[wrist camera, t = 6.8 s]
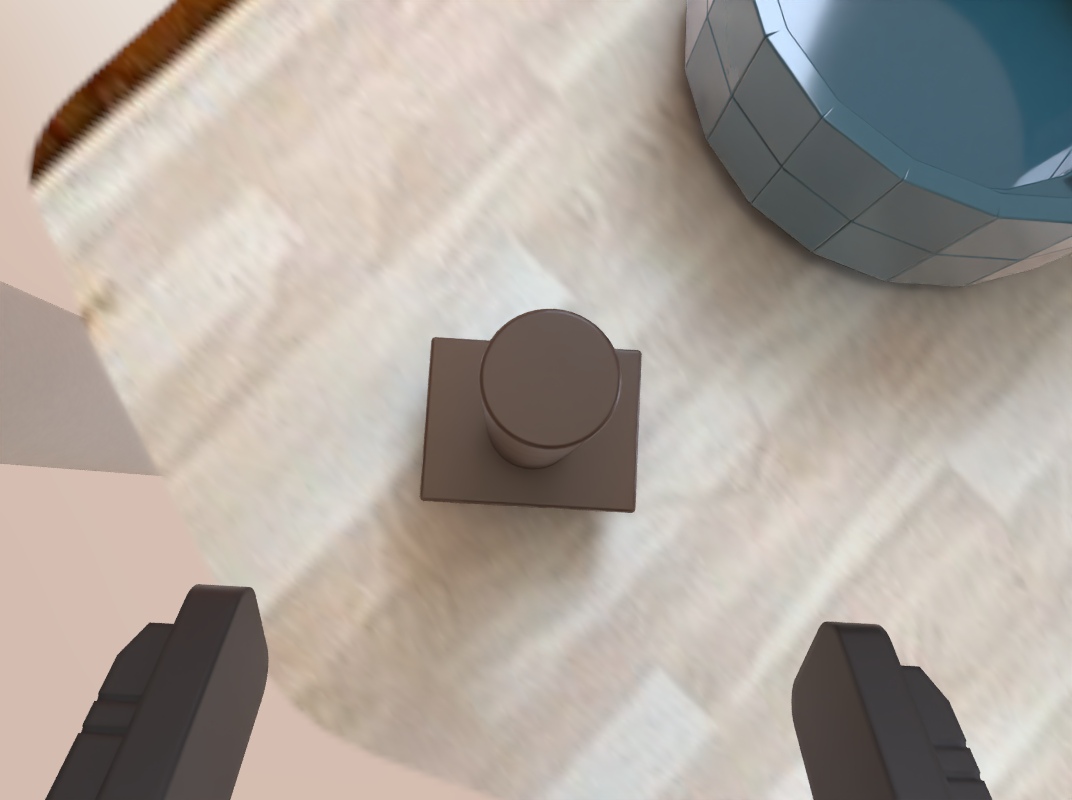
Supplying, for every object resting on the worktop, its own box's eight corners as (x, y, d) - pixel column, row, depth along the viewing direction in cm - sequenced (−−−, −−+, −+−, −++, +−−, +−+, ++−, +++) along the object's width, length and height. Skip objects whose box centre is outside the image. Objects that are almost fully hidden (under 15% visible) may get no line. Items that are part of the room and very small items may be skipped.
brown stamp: (431, 500, 22) (368, 499, 12) (441, 359, 23) (390, 239, 12) (616, 511, 22) (715, 520, 12) (622, 371, 23) (722, 262, 12)
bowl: (671, 276, 23) (730, 198, 17) (686, -161, 25) (744, -366, 19) (1142, 308, 24) (1357, 243, 18) (1124, -122, 26) (1312, -311, 20)
